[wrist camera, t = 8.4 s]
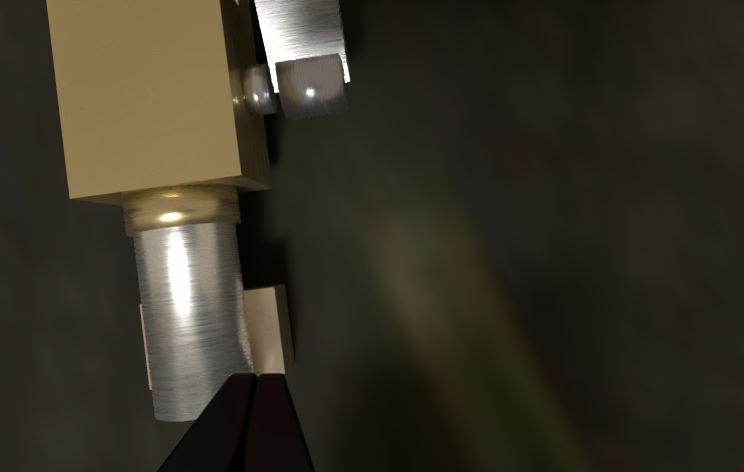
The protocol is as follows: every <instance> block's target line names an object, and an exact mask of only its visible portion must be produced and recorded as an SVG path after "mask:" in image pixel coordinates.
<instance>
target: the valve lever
mask: <svg viewBox="0 0 744 472" xmlns="http://www.w3.org/2000/svg"><path fill="white" fill-rule="evenodd" d="M254 1H255V6H256V10H257V14H258V19H259V23H260V28H261V32H262V37H263V41H264V46H265V50H266V54H267V59H268V63H269V68H270V72H271V77H272V81H273V85H274V90H275V92H279V97H280V101H281V105H282V108H283V111H284V114H285V116H286V118H287V119H288V120H296V119H303V118H310V117H317V116H324V115H331V114H338V113H345V112H349V97H348V88H347V82H350V67H349V61H348V54H347V48H346V42H345V35H344V29H343V23H342V16H341V10H340V4H339V0H254Z"/></svg>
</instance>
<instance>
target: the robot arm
mask: <svg viewBox="0 0 744 472" xmlns="http://www.w3.org/2000/svg"><path fill="white" fill-rule="evenodd" d="M157 472H315V469H314V466H313V463H312V460H311V457H310V454H309V450H308V447H307V444H306V441H305V438H304V435H303V432H302V428H301V425H300V422H299V419H298V416H297V413H296V410H295V406H294V403H293V400H292V397H291V394H290V391H289V388H288V385H287V381H286V378H285V376H284V375H283V374H282V373H261V374H259V376H257V375H256V374H254V373H233V374H231V375H230V376H229V377H228V378H227V379H226V381H225V382H224V383H223V385H222V386H221V387H220V389H219V390H218V391H217V393H216V394H215V395H214V397H213V398H212V399H211V401H210V402H209V403H208V405H207V406H206V407H205V409H204V410H203V411H202V413H201V414H200V415H199V417H198V418H197V419H196V421H195V422H194V423H193V424H192V426H191V427H190V428H189V430H188V431H187V432H186V434H185V435H184V436H183V438H182V439H181V440H180V442H179V443H178V444H177V446H176V447H175V448H174V450H173V451H172V452H171V454H170V455H169V456H168V458H167V459H166V460H165V462H164V463H163V464H162V466H161V467H160V468H159V470H158V471H157Z"/></svg>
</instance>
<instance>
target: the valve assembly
mask: <svg viewBox="0 0 744 472" xmlns="http://www.w3.org/2000/svg"><path fill="white" fill-rule="evenodd" d="M46 1H47V9H48V18H49V26H50V35H51V43H52V52H53V60H54V68H55V77H56V85H57V94H58V102H59V111H60V119H61V128H62V136H63V145H64V153H65V162H66V170H67V178H68V187H69V195H70V199H75V200H82V201H90V202H97V203H104V204H111V205H119V206H123V211H124V219H125V228H126V236H133V237H134V246H135V254H136V262H137V271H138V279H139V287H140V296H141V304H140V311H141V319H142V328H143V336H144V344H145V353H146V361H147V369H148V377H149V386H150V390H152V395H153V403H154V412H155V418H156V419H158V420H161V421H169V422H176V421H189V420H196V419H197V418H198V417H199V415H200V414H201V413H202V411H203V410H204V409H205V407H206V406H207V405H208V403H209V402H210V401H211V399H212V398H213V397H214V395H215V394H216V393H217V391H218V390H219V389H220V387H221V386H222V385H223V383H224V382H225V381H226V379H227V378H228V377H229V376H230V375H231V374H233V373H254V374H256V375H257V376H259V374H261V373H282V374H285V373H286V372H287V371H288V370H289V369H290V368H291V367H292V366H293V365H294V364H295V359H294V351H293V344H292V336H291V328H290V320H289V312H288V304H287V296H286V288H285V284H278V285H271V286H263V287H255V288H247V289H243V282H242V274H241V266H240V258H239V250H238V242H237V234H236V226H235V225H238V224H241V216H240V208H239V200H238V193H242V192H250V191H257V190H264V189H272V180H271V173H270V165H269V157H268V149H267V141H266V133H265V125H264V117H263V115H265V114H272V113H276V112H277V94H276V92H275V90H274V85H273V81H272V77H271V72H270V68H269V65H268V63H263V64H257V62H256V54H255V46H254V38H253V36H254V35H253V27H252V19H251V11H250V3H249V0H46Z"/></svg>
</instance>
